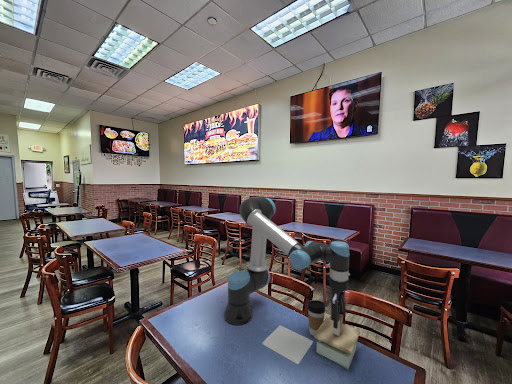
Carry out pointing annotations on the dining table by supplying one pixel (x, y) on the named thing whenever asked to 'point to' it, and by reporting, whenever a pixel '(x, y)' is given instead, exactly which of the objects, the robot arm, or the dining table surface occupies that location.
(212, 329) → the dining table surface
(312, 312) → the coffee cup
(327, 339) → the lid
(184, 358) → the dining table surface
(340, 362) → the dish
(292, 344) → the mat
